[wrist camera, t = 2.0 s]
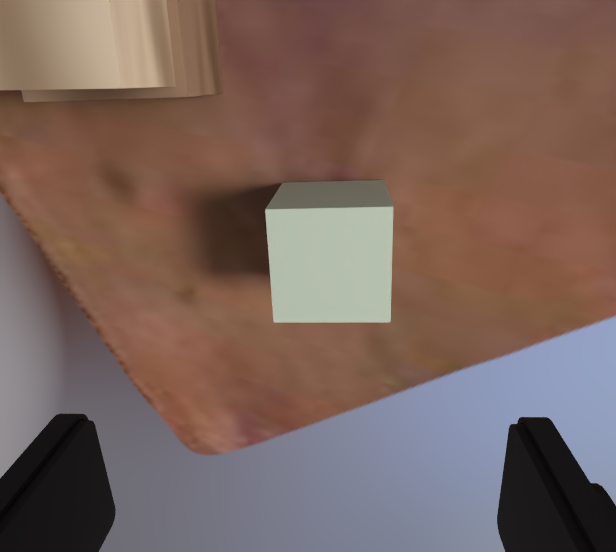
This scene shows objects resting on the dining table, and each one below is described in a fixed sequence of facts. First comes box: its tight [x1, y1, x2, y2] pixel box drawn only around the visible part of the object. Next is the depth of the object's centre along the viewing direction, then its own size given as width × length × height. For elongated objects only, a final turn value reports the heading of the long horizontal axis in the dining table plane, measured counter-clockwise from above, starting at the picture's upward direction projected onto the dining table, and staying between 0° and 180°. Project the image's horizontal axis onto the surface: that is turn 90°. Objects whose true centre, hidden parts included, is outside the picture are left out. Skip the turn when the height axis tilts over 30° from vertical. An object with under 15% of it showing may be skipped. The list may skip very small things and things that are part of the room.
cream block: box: [21, 0, 223, 102], centre depth 21 cm, size 7×7×6 cm
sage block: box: [265, 180, 393, 322], centre depth 25 cm, size 6×6×6 cm
